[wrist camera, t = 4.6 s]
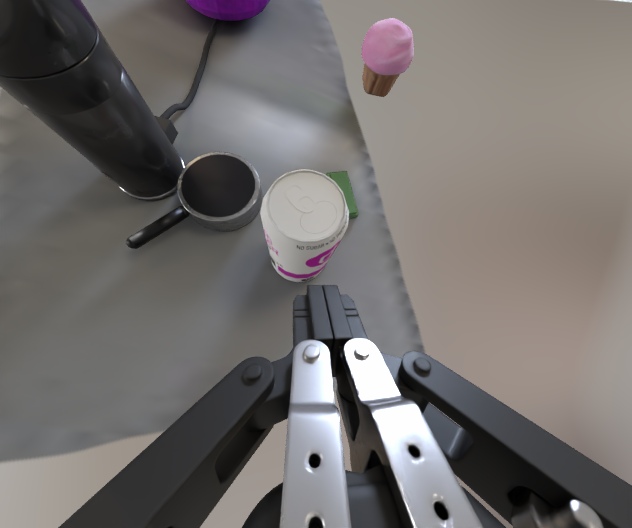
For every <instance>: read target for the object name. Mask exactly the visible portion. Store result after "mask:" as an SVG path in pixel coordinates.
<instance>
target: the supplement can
mask: <svg viewBox="0 0 632 528" xmlns="http://www.w3.org/2000/svg"><path fill="white" fill-rule="evenodd" d="M260 214H261V219H262V224H263V228H264V232H265V237H266V241H267V245H268V249H269V253H270V257H271V261H272V265H273V266H274V268H275V270H276V271H277V273H278V274H280V275H281V276H282V277H284V278H285V279H287V280H291V281H294V282H306V281H308V280H311V279H313V278H315V277H316V276H317V275H318V274H320V273H321V272H322V270H323V269H324V267H325V265H326V264H327V262H328V260H329V259H330V257H331V255H332V254H333V252H334V251H335V249H336V247H337V246H338V244H339V242H340V241H341V239H342V237H343V235H344V233H345V231H346V229H347V227H348V220H349V210H348V207H347V204H346V200H345V197H344V194H343V191H342V190H341V189H340V187H339V186H338V185H337V183H336V182H335V181H334V180H332V179H331V178H329V177H328V176H327V175H325V174H323V173H320V172H317V171H314V170H295V171H291V172H288V173H285V174H284V175H282V176H281V177H280V178H278V179H277V180H275V182H274V183H273V185H272V186H271V187H270V189H269V190H268V192H267V193H266V195H265V196H264V198H263V201H262V206H261V211H260Z"/></svg>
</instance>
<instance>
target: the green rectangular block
mask: <svg viewBox="0 0 632 528" xmlns="http://www.w3.org/2000/svg"><path fill="white" fill-rule="evenodd" d="M326 175H327V176H328V177H329V178H331V179H332V180H334V181H335V182H336V183H337V185H338V186H339V187H340V189H341V190H342V191H343V194H344V197H345V200H346V204H347V207H348V210H349V218H354V217H357V216H358V211H357V207H356V204H355V200H354V196H353V192H352V189H351V185H350V181H349V178H348V174H347V171H342V172H332V173H327V174H326Z"/></svg>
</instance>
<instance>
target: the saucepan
mask: <svg viewBox="0 0 632 528" xmlns="http://www.w3.org/2000/svg"><path fill="white" fill-rule="evenodd" d="M177 193H178V197H179V199H180V201H181V203H182V205H183V206H180V207H178V208H176V209H175V210H173V211H171V212H170V213H168V214H166V215H165V216H163V217H162V218H160V219H158V220H157V221H155V222H153V223H152V224H150V225H148V226H147V227H145V228H144V229H142V230H140V231H139V232H137V233H135V234H134V235H132V236H130V237H129V238H128V239H127V240H126V244H127V246H128V247H130V248H133V249H136V248H139V247H141V246H142V245H144V244H146V243H147V242H149V241H150V240H152V239H153V238H155V237H157V236H158V235H160V234H161V233H163V232H165V231H166V230H168V229H169V228H171V227H172V226H174V225H176V224H177V223H179V222H180V221H182V220H184V219H185V218H187V217H188V216H189V215H190V214H191V216H192V217H193V218H194V219H195V220H196V221H197V222H198V223H199V224H201V225H202V226H204V227H206V228H208V229H211V230H215V231H232V230H236V229H239V228H242V227H244V226H245V225H247V224H249V223H250V222H251V221H252V220H253V219H254V218H255V217H256V216H257V214H258V212H259V211H260V208H261V205H262V192H261V186H260V181H259V177H258V174H257V172H256V171H255V169H254V168H253V166H252V165H251V164H250V163H249V162H248V161H246V160H245V159H243V158H242V157H240V156H238V155H235V154H232V153H227V152H212V153H207V154H204V155H201V156H199V157H197V158H195V159H193V160H192V161H191V162H189V163H188V164H187V165H186V166H185V167H184V169H183V170H182V172H181V174H180V175H179V178H178V182H177Z"/></svg>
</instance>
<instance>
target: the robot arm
mask: <svg viewBox="0 0 632 528" xmlns="http://www.w3.org/2000/svg"><path fill="white" fill-rule="evenodd" d="M220 22H221V20H219V19H215V21H214V23H213V25H212V27H211V29H210V32H209V34H208V37H207V39H206V42H205V45H204V49H203V53H202V57H201V61H200V64H199V67H198V70H197V73H196V75H195V78H194V81H193V84H192V87H191V89H190V92H189V94H188V96H187V97H186V99H185V100H184V101H183V103H181V104H174V105H172V106H171V107H169V108H168V109H167V110H166V111H165V112H164V113H163V114H162V115H161V116H160V117H157V116H154V115H153V113H152V112H151V110H150V109H149V107H148V105H147V104H146V102H145V101H144V99H143V98H142V96H141V94H140V93H139V91H138V90H137V88H136V86H135V85H134V83H133V82H132V80H131V78H130V77H129V75H128V74H127V72H126V71H125V69H124V67H123V66H122V64H121V63H120V61H119V60H118V58H117V57H116V55H115V53H114V52H113V50H112V49H111V47H110V45H109V44H108V42H107V41H106V39H105V38H104V36H103V34H102V33H101V31H100V30H99V28H98V26H97V25H96V23H95V22H94V20H93V19H92V17H91V15H90V14H89V12H88V11H87V9H86V8H85V6H84V4H83V3H82V1H81V0H0V86H1V87H2V88H3V89H4V90H5V91H7V92H8V93H9V94H10V95H11V96H13V97H14V98H15V99H16V100H17V101H19V102H20V103H21V104H22V105H23V106H25V107H26V108H27V109H28V110H29V111H31V112H32V113H33V114H34V115H35V116H37V117H38V118H39V119H40V120H41V121H42V122H44V123H45V124H46V125H47V126H48V127H50V128H51V129H52V130H53V131H54V132H56V133H57V134H58V135H59V136H60V137H61V138H63V139H64V140H65V141H66V142H67V143H69V144H70V145H71V146H72V147H73V148H75V149H76V150H77V151H78V152H79V153H80V154H82V155H83V156H84V157H85V158H86V159H88V160H89V161H90V162H91V163H92V164H94V165H95V166H96V167H97V169H98V170H101V171H102V172H103V173H104V174H105V176H106V175H107V176H108V177H109V178H110V179H111V180H112V181H114V182H115V183H116V184H117V185H118V186H119V187H120V188H121V189H122V190H123V191H124V192H126V193H127V194H128V195H130V196H131V197H134V198H136V199H140V200H146V201H152V200H159V199H162V198H165V197H167V196H169V195H171V194H173V193H174V192H175V191H177V182H178V178H179V175H180V174H181V172H182V170H183V169H184V167H185V164H184V162H183V160H182V158H181V157H180V155H179V154H178V153H177V152H176V150H175V148H174V147H173V145H172V144H173V142H174V140H175V138H176V136H177V134H178V132H177V131H176V129H175V127H174V125H173V123H172V122H171V120H168V119H169V118H170V116H171V115H172V114H173V113H175V112H176V111H178V110H184V109H186V108H187V107H188V106H189V105H190V103H191V102H192V100H193V98H194V96H195V94H196V91H197V88H198V86H199V82H200V79H201V77H202V74H203V71H204V68H205V64H206V60H207V56H208V52H209V48H210V45H211V42H212V40H213V37H214V35H215V32H216V30H217V28H218V26H219V24H220ZM107 176H106V177H107ZM332 377H336V380H337V391H336V395H337V399H338V403H339V407H340V411H341V415H342V419H343V423H344V426H345V430H346V434H347V438H348V442H349V447H350V461H351V468H352V471H347V470H345V463H344V454H343V445H342V436H341V428H340V427H341V426H340V417H339V411H338V408H337V407H336V406H335V401H334V389H333V379H332ZM429 402H430V403H431V404H432V405H431V404H430V403H429ZM433 405H434V406H435V407H436V408H435V407H434V406H433ZM437 408H438V409H439V410H440V411H441V412H440V411H439V410H438V409H437ZM442 412H443V413H444V414H445V415H447V416H448V417H449V418H448V417H447V416H445V415H444V414H443V413H442ZM287 418H288V425H287V439H286V451H285V465H284V478H283V483H281V484H279V485H278V486H276V487H275V488H273V489H272V490H271V491H270V492H269V493H268V494H266V495H265V497H263V499H262V500H261V501H260V502H259V503H258V504H257V506H256V507H255V508H254V509H253V511H252V512H251V514H250V515H249V517H248V518H247V520H246V521H245V523H244V525H243V527H242V528H506V527H505V526H504V525H503V524H502V523H501V522H499V520H498V519H496V518H495V517H494V516H493V515H492V514H491V513H490V512H489V511H488V510H487V509H486V508H485V507H484V506H483V505H482V504H481V503H479V501H477V500H476V499H475V498H474V497H473V496H472V495H471V494H470V493H469V492H468V491H467V490H466V489H465V488H463V487H462V486H461V485H460V483H459V482H458V480H457V478H456V476H457V477H459V478H460V479H461V480H462V481H463V482H464V483H465V484H466V485H467V486H469V487H470V488H471V489H472V490H473V491H474V492H475V493H476V494H478V495H479V496H480V497H481V498H482V499H483V500H484V501H486V503H488V504H489V505H490V506H491V507H492V508H493V509H494V510H495V511H497V512H498V513H499V514H500V515H501V516H502V517H503V518H504V519H506V520H507V521H508V522H509V523H510V524H511V525H512V526H513V528H632V486H631V485H630V484H628V483H627V482H625V481H623V480H622V479H620V478H619V477H617V476H616V475H614V474H613V473H611V472H609V471H608V470H606V469H605V468H603V467H602V466H600V465H599V464H597V463H595V462H594V461H592V460H591V459H589V458H588V457H586V456H584V455H583V454H581V453H580V452H578V451H577V450H575V449H574V448H572V447H570V446H569V445H567V444H566V443H564V442H563V441H561V440H559V439H558V438H556V437H555V436H553V435H552V434H550V433H549V432H547V431H545V430H544V429H542V428H541V427H539V426H538V425H536V424H535V423H533V422H532V421H530V420H528V419H527V418H525V417H524V416H522V415H521V414H519V413H517V412H516V411H514V410H513V409H511V408H510V407H508V406H507V405H505V404H503V403H502V402H500V401H499V400H497V399H496V398H494V397H492V396H491V395H489V394H488V393H486V392H485V391H483V390H482V389H480V388H478V387H477V386H475V385H474V384H472V383H471V382H469V381H468V380H466V379H464V378H463V377H461V376H460V375H458V374H457V373H455V372H453V371H452V370H450V369H449V368H447V367H445V366H444V365H443V364H441V363H439V362H438V361H436V360H435V359H433V358H432V357H430V356H428V355H427V354H424V353H422V352H418V351H410V352H407V353H406V354H405V355H404V356H403V358H399V357H395V356H391V355H387V354H384V353H382V352H380V351H379V350H378V348H377V347H376V346H375V345H374V344H373V343H372V342H370V341H369V340H368V338H367V335H366V333H365V330H364V327H363V325H362V322H361V320H360V317H359V314H358V312H357V310H356V307H355V304H354V301H353V300H352V299H351V298H350V297H349V296H348V295H340V293H339V290H338V287H337V285H307V295H297V297H296V298H295V300H294V302H293V349H292V351H291V352H290V353H289V354H288V355H287V356H286V357H284V358H282V359H280V360H277V361H274V362H270V361H269V360H267V359H265V358H263V357H251V358H248V359H246V360H244V361H242V362H241V363H240V364H238V365H237V366H236V367H235V368H234V369H233V370H232V371H231V372H230V373H229V374H227V375H226V376H225V377H224V378H223V379H222V380H221V381H220V382H219V383H218V384H216V385H215V386H214V387H213V388H212V389H211V390H210V391H209V392H208V393H206V394H205V395H204V396H203V397H202V398H201V399H200V400H199V401H198V402H197V403H195V404H194V405H193V406H192V407H191V408H190V409H189V410H188V411H187V412H186V413H184V414H183V415H182V416H181V417H180V418H179V419H178V420H177V421H176V422H174V423H173V424H172V425H171V426H170V427H169V428H168V429H167V430H166V431H165V432H163V433H162V434H161V435H160V436H159V437H158V438H157V439H156V440H155V441H154V442H153V443H151V444H150V445H149V446H148V447H147V448H146V449H145V450H144V451H142V452H141V453H140V454H139V455H138V456H137V457H136V458H135V459H134V460H133V461H131V462H130V463H129V464H128V465H127V466H126V467H125V468H124V469H123V470H121V472H119V473H118V474H117V475H116V476H115V477H114V478H113V479H112V480H110V481H109V482H108V483H107V484H106V485H105V486H104V487H103V488H102V489H101V490H99V491H98V492H97V493H96V494H95V495H94V496H93V497H92V498H91V499H90V500H88V501H87V502H86V503H85V504H84V505H83V506H82V507H81V508H80V509H78V510H77V511H76V512H75V513H74V514H73V515H72V516H71V517H70V518H69V519H68V520H66V521H65V522H64V523H63V524H62V525H61V526H60V527H59V528H200V526H201V525H202V523H203V522H204V521H205V519H206V518H207V517H208V515H209V513H210V512H211V511H212V510H213V508H214V507H215V506H216V504H217V503H218V502H219V500H220V499H221V498H222V496H223V495H224V493H225V492H226V491H227V489H228V488H229V487H230V485H231V484H232V483H233V481H234V480H235V478H236V477H237V476H238V474H239V473H240V472H241V470H242V469H243V468H244V466H245V465H246V463H247V462H248V461H249V459H250V458H251V457H252V455H253V454H254V453H255V451H256V450H257V448H258V447H259V446H260V444H261V443H262V442H263V440H264V439H265V437H266V436H267V435H268V433H269V432H270V431H271V429H272V428H273V426H274V424H276V423H279V422H281V421H283V420H285V419H287ZM450 418H451V419H452V420H453V421H455V422H456V423H457V424H459V425H460V426H461V427H460V426H459V425H457V424H456V423H454V422H453V421H452V420H451V419H450ZM455 475H456V476H455Z"/></svg>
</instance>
